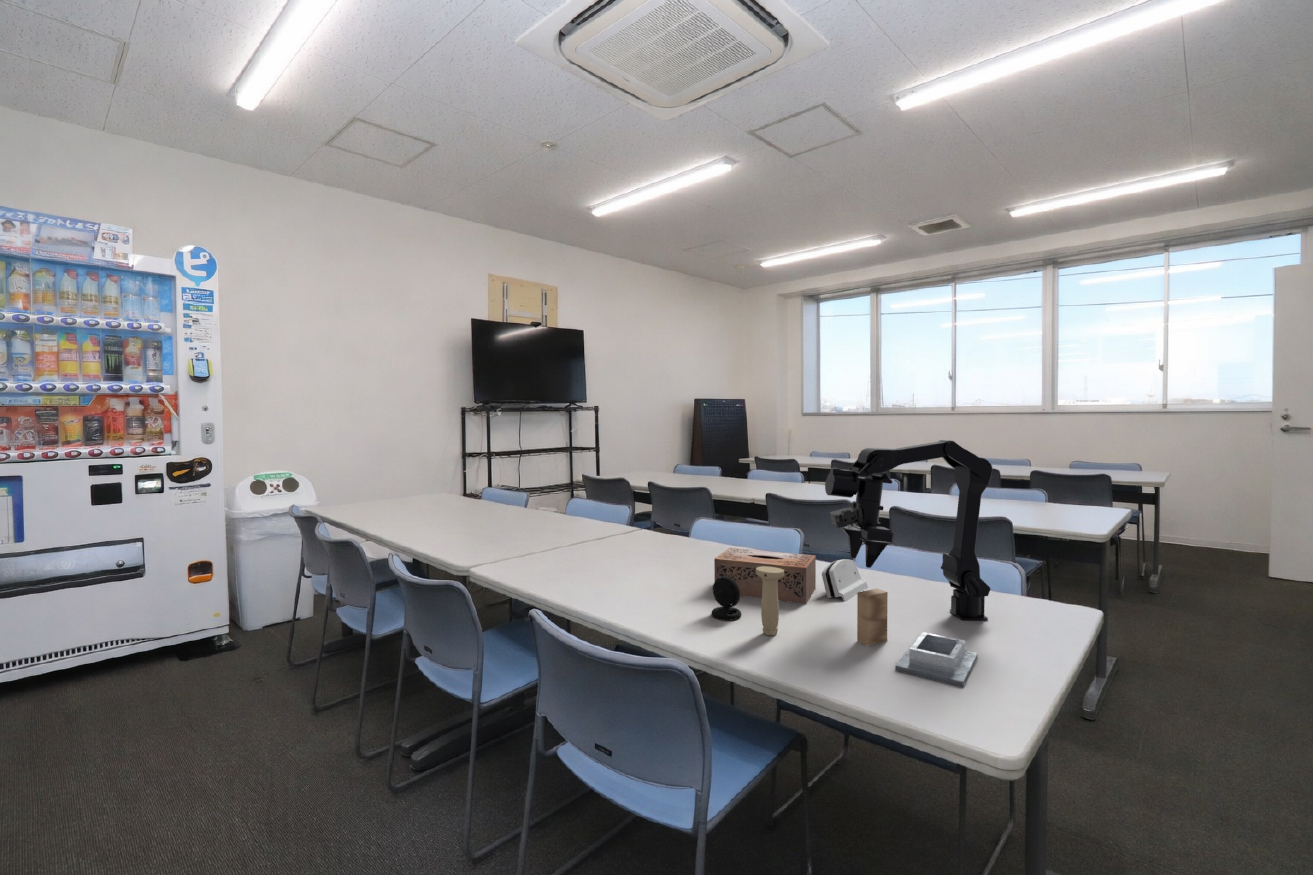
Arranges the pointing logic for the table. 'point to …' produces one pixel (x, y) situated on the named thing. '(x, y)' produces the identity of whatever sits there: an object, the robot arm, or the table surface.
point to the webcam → (726, 599)
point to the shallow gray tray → (938, 659)
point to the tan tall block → (872, 616)
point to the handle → (770, 598)
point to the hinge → (842, 579)
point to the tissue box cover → (744, 563)
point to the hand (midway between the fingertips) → (860, 562)
